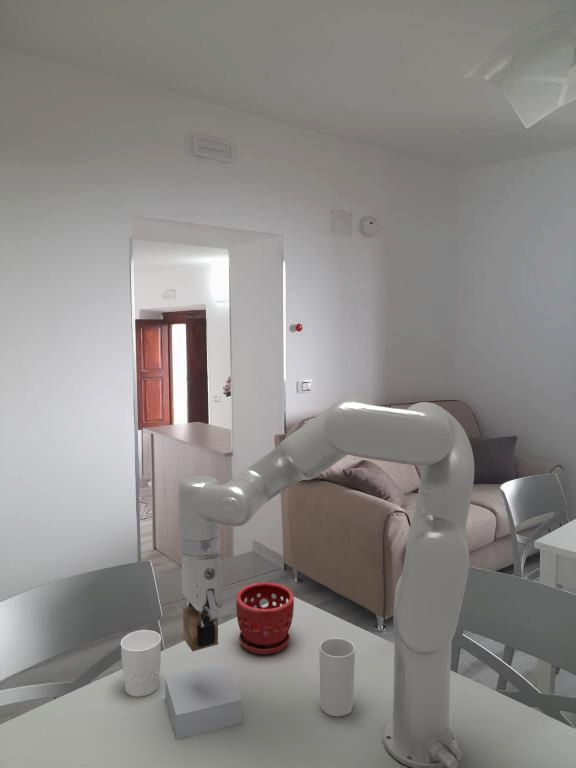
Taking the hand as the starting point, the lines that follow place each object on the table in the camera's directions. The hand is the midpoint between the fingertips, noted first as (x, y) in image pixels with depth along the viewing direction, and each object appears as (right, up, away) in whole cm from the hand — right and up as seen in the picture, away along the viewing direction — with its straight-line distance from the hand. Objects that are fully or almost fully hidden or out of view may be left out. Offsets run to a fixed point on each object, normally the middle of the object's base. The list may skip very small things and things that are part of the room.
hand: (200, 636), depth 110 cm
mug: (+26, -15, +4) cm, 30 cm away
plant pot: (+11, -13, +25) cm, 30 cm away
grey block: (0, -15, +2) cm, 15 cm away
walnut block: (0, -1, 0) cm, 1 cm away
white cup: (-13, -14, +9) cm, 21 cm away
